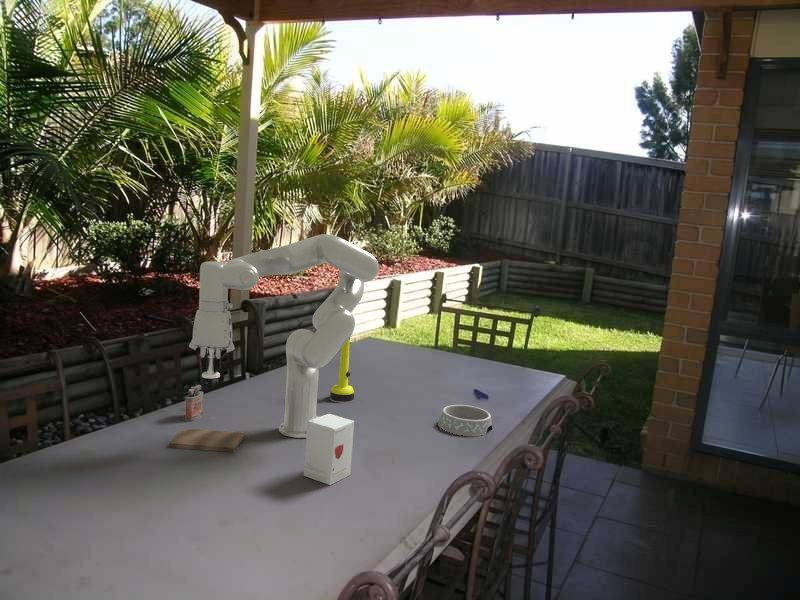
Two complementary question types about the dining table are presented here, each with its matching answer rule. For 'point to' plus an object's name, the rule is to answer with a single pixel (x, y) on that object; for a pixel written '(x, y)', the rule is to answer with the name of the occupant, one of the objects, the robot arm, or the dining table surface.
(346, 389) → the flashlight
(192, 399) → the lighter
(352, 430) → the supplement box
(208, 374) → the chess piece
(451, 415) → the dog bowl
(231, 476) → the dining table surface
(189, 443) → the walnut board
